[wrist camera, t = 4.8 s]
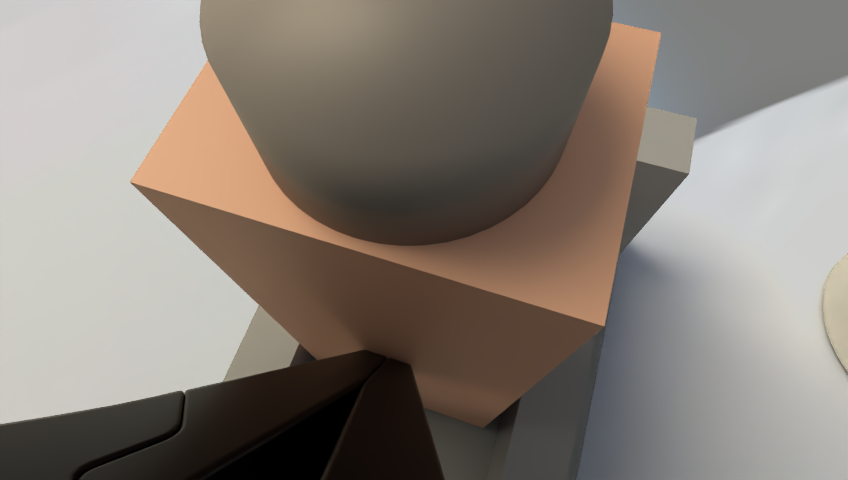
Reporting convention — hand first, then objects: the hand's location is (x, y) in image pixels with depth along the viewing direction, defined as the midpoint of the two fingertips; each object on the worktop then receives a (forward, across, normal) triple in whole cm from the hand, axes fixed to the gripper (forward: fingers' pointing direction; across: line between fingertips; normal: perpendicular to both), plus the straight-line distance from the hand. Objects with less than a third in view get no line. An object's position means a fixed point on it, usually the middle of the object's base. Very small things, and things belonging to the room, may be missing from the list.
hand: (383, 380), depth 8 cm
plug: (+5, 0, -2) cm, 5 cm away
